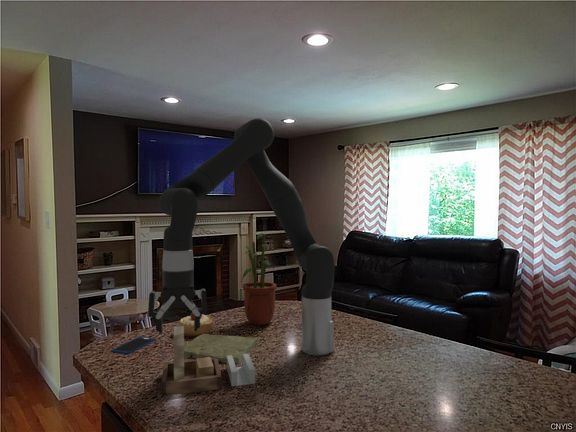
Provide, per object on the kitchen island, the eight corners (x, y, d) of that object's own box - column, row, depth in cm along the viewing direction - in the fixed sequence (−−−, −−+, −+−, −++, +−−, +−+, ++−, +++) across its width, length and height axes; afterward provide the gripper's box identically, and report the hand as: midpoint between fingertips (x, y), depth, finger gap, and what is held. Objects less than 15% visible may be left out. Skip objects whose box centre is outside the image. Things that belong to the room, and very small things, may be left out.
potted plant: (283, 322, 154) (283, 232, 153) (254, 332, 142) (254, 235, 141) (252, 314, 165) (252, 230, 164) (223, 322, 154) (222, 233, 153)
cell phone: (157, 340, 135) (157, 338, 135) (128, 355, 122) (128, 353, 122) (139, 338, 137) (139, 336, 137) (109, 353, 124) (109, 350, 124)
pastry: (184, 342, 134) (183, 316, 134) (175, 331, 145) (174, 307, 144) (218, 334, 140) (217, 310, 140) (207, 325, 150) (206, 302, 150)
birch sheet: (184, 374, 105) (183, 325, 104) (184, 389, 96) (183, 337, 96) (174, 375, 104) (174, 326, 104) (174, 391, 96) (173, 337, 95)
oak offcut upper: (210, 365, 105) (210, 356, 105) (213, 375, 99) (213, 366, 99) (196, 367, 104) (196, 358, 104) (199, 377, 98) (199, 368, 98)
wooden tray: (217, 371, 109) (217, 357, 109) (221, 392, 97) (221, 376, 97) (164, 377, 105) (163, 362, 105) (161, 400, 93) (161, 383, 93)
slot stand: (248, 369, 110) (248, 353, 110) (255, 387, 100) (255, 369, 100) (226, 371, 109) (226, 355, 109) (231, 390, 98) (231, 372, 98)
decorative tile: (200, 342, 134) (200, 331, 134) (257, 346, 130) (257, 335, 130) (173, 364, 116) (173, 352, 115) (239, 369, 111) (239, 357, 111)
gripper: (206, 264, 105) (206, 325, 105) (149, 266, 101) (149, 329, 102) (207, 269, 98) (207, 334, 98) (146, 271, 94) (147, 338, 95)
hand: (178, 331), depth 100 cm, fingers open, 8 cm apart
